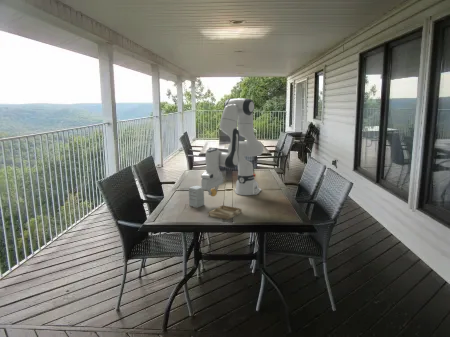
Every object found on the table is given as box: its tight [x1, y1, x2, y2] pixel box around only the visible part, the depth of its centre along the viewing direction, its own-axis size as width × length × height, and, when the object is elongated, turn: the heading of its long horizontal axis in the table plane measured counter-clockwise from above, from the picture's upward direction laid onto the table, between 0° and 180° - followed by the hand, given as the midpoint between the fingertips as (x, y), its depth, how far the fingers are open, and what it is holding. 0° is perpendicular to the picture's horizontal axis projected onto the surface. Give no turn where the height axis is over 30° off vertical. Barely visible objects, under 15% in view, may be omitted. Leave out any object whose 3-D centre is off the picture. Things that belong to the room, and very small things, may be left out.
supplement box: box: [188, 185, 205, 208], centre depth 232 cm, size 7×7×13 cm
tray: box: [207, 204, 243, 221], centre depth 215 cm, size 16×14×2 cm
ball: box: [210, 188, 218, 197], centre depth 232 cm, size 5×5×5 cm
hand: (213, 193), depth 232 cm, fingers closed on ball, 5 cm apart
